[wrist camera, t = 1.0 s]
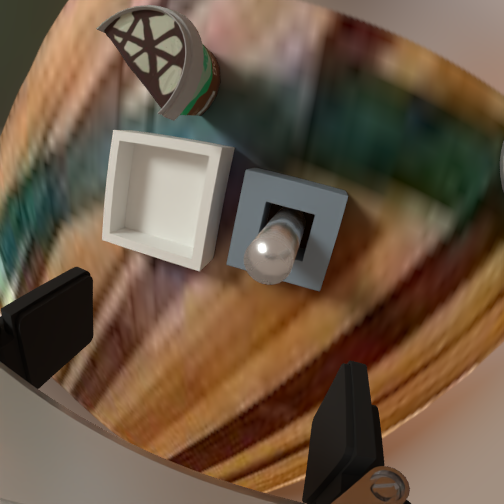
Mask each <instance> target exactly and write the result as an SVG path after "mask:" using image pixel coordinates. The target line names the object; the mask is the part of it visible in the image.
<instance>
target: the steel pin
mask: <svg viewBox="0 0 504 504" xmlns="http://www.w3.org/2000/svg"><path fill="white" fill-rule="evenodd" d="M305 226H306V219H305V216H304V214H303V213H302V212H301V211H300V210H296V209H292V208H289V207H284V208H282V209H280V210H279V211H278V212H277V213H276V214H275V215H274V217H273V218H272V219H271V220H270V221H269V222H268V224H267V225H266V226H265V227H264V228H263V229H262V231H261V232H260V233H259V234H258V235H257V236H256V238H255V239H254V240H253V241H252V242H251V244H250V245H249V246H248V247H247V249H246V251H245V254H244V265H245V268H246V271H247V272H248V274H249V275H250V276H251V277H252V278H253V279H254V280H256V281H257V282H259V283H262V284H268V285H272V284H277V283H280V282H282V281H283V280H285V279H286V278H287V277H288V275H289V274H290V272H291V270H292V267H293V264H294V261H295V257H296V254H297V251H298V248H299V245H300V242H301V239H302V236H303V233H304V229H305Z"/></svg>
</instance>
